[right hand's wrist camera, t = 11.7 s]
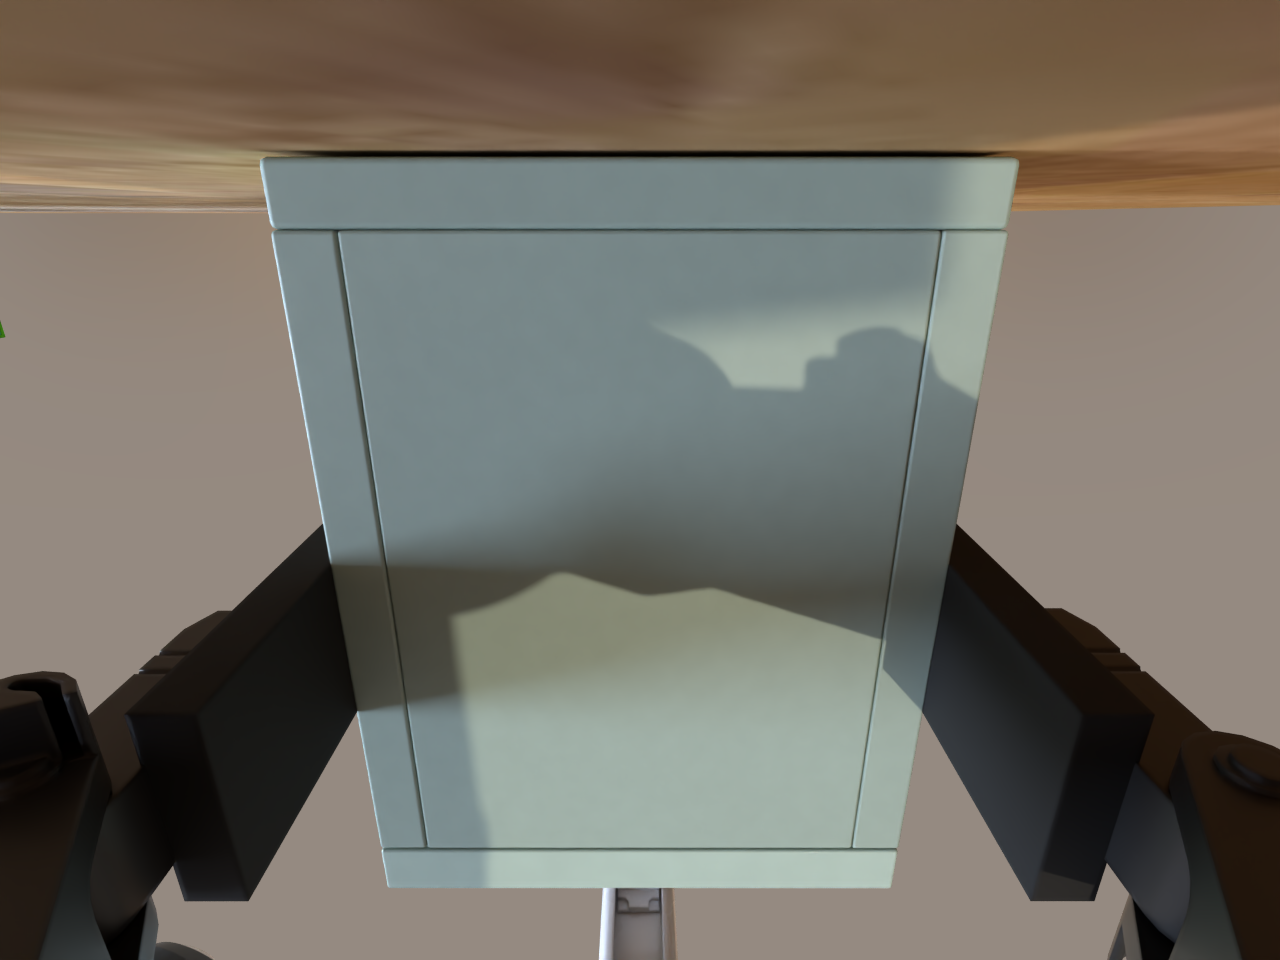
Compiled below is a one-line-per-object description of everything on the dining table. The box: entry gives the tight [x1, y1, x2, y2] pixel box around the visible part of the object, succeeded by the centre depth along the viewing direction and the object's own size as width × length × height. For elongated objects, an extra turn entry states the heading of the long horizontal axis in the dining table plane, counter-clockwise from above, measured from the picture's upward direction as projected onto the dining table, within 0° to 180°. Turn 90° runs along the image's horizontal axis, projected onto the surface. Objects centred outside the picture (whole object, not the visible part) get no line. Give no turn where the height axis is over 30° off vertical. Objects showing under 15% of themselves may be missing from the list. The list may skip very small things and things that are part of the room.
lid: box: [382, 844, 897, 888], centre depth 20 cm, size 14×9×9 cm, turn 0°
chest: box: [260, 157, 1019, 848], centre depth 17 cm, size 13×9×11 cm
